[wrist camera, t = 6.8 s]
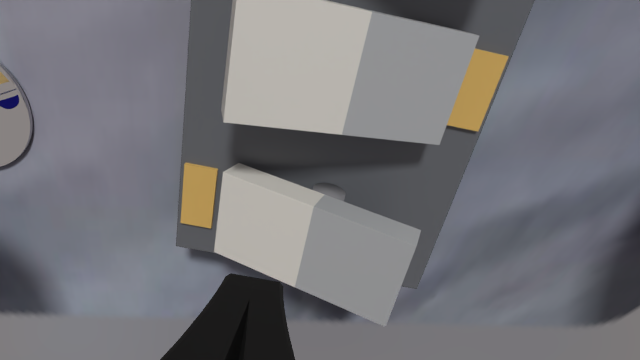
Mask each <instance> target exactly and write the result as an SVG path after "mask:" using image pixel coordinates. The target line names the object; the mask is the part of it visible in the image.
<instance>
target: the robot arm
mask: <svg viewBox="0 0 640 360" xmlns="http://www.w3.org/2000/svg"><path fill="white" fill-rule="evenodd" d="M160 360H295V357H294V353H293V349H292V345H291V341H290V337H289V332H288V328H287V322H286V316H285V309H284V301H283V286H282V285H281V283H280V282H276V281H270V280H264V279H259V278H253V277H247V276H242V275H236V274H229V275H227V276H226V277H225V278H224V280H223V282H222V284H221V285H220V287H219V288H218V290H217V292H216V293H215V294H214V296H213V297H212V299H211V300H210V301H209V303H208V304H207V305H206V307H205V308H204V309H203V311H202V312H201V313H200V315H199V316H198V317H197V318H196V319H195V321H194V322H193V323H192V324H191V326H190V327H189V328H188V329H187V330H186V332H185V333H184V334H183V335H182V336H181V338H180V339H179V340H178V341H177V342H176V343H175V344H174V345H173V347H172V348H171V349H170V350H169V351H168V352H167V353H166V354H165V355H164V356H163V357H162V358H161V359H160Z"/></svg>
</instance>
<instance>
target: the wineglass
mask: <svg viewBox="0 0 640 360" xmlns="http://www.w3.org/2000/svg"><path fill="white" fill-rule="evenodd" d="M32 131H33V119H32V113H31V109H30V106H29V103H28V100H27V98H26V96H25V94H24V92H23V90H22V88H21V87H20V85H19V83H18V82H17V81H16V79H15V78H14V77H13V75H12V74H11V73H10V72H9V71H8V70H7V69H6V68H5V67H4V66H3V65H2V64H1V63H0V167H1V166H4V165H7V164H9V163H11V162H13V161H14V160H16V159H17V158H19V157H20V156H21V155H22V154H23V153H24V151H25V150H26V149H27V147H28V145H29V143H30V140H31V137H32Z"/></svg>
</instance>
